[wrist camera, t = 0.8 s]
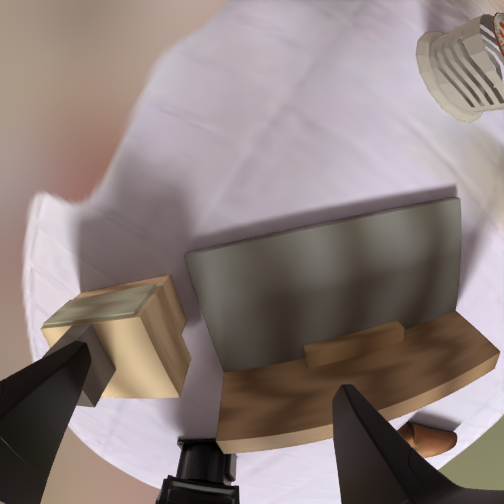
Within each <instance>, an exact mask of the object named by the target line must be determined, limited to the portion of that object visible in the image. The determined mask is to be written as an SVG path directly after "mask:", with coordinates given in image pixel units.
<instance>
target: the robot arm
mask: <svg viewBox="0 0 504 504" xmlns="http://www.w3.org/2000/svg"><path fill="white" fill-rule="evenodd" d="M91 362H92V358H91V354H90V351H89V347H88V344H87V343H86V342H84V341H81V340H75V341H73V342H71V343H69V344H67V345H66V346H64V347H62V348H60V349H58V350H56V351H54V352H53V353H51V354H49V355H47V356H45V357H43V358H42V359H40V360H38V361H36V362H34V363H33V364H31V365H29V366H27V367H25V368H24V369H22V370H20V371H18V372H16V373H15V374H12V375H11V376H9V377H7V378H6V379H3V380H2V381H0V504H40V503H41V499H42V496H43V492H44V489H45V486H46V483H47V479H48V476H49V473H50V470H51V468H52V465H53V462H54V459H55V456H56V453H57V451H58V448H59V446H60V443H61V441H62V438H63V435H64V433H65V431H66V428H67V426H68V423H69V421H70V419H71V416H72V414H73V412H74V409H75V407H76V405H77V403H78V400H79V398H80V395H81V393H82V390H83V386H84V383H85V380H86V377H87V375H88V372H89V369H90V366H91ZM332 414H333V440H334V448H335V455H336V462H337V469H338V477H339V485H340V494H341V503H342V504H504V490H481V489H470V488H464V487H461V486H458V485H456V484H455V483H453V482H452V481H451V480H449V479H448V478H447V477H445V476H444V475H443V474H442V473H440V472H439V471H438V470H437V469H435V468H434V467H433V466H432V465H431V464H429V463H428V462H427V461H426V460H425V459H424V458H423V457H422V456H421V455H420V454H419V453H418V452H417V451H416V450H415V449H414V448H413V447H411V445H410V444H409V443H408V442H407V441H406V440H405V439H404V438H403V437H402V436H401V435H400V434H399V433H398V432H397V431H396V430H395V429H394V428H393V427H392V425H391V424H390V423H389V422H388V421H387V420H386V419H385V418H384V417H383V416H382V415H381V414H380V413H379V412H378V411H377V410H376V409H375V408H374V407H373V406H372V404H371V403H370V402H369V401H368V400H367V399H366V398H365V397H364V396H363V395H362V394H361V393H360V392H359V391H358V390H357V389H356V387H355V386H354V385H352V384H342V385H341V386H340V387H339V389H338V391H337V392H336V394H335V396H334V397H333V400H332ZM177 445H178V446H179V447H180V448H181V455H180V460H179V464H178V469H177V474H176V477H173V476H171V475H168V477H167V479H164V480H163V484H162V488H161V491H160V493H159V495H158V498H157V500H156V504H240V503H239V486H236V485H234V486H231V482H234V481H235V479H236V456H235V455H234V453H231V454H224V453H223V452H222V450H221V448H220V447H219V445H218V444H217V442H216V439H209V440H178V441H177Z"/></svg>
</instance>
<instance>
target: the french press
mask: <svg viewBox="0 0 504 504" xmlns="http://www.w3.org/2000/svg"><path fill="white" fill-rule="evenodd" d="M480 24H482V25H484V26H485V27H486V28H487V29H489V30H490V31H492V32H493V33H494V35H495V38H496V39H495V38H493V37H492V36H491V35H489V34H488V33H486V32H485V31H484V30H482V29H481V28H480ZM463 32H464V34H462V33H463ZM480 33H481V34H482V35H484V36H485V37H487V38H488V39H489V40H491V41H492V42H493V43H495V44H496V45H497V46H499V49H500V51H501V52H500V51H498V50H497V49H496V48H495V47H494V46H492V45H491V44H489V43H488V42H487V41H485V40H484V39H482V38H481V35H480ZM459 36H460V37H461V38H463V40H462V41H461V40H459ZM484 45H485V46H487V47H488V48H490V49H491V50H492V51H494V52H495V53H496V54H497V56H498V57H499V59H500V60H501V62H502V63H503V65H504V13H496V14H495V16H491V15H489V14H485V15H482V16H479V17H477V18H475V19H473V20H471V21H469V22H467V23H465V24H463V25H461V26H459V27H458V28H456V29H454V30H452V31H450V32H448V33H446V34H443V33H441V32H438V31H435V32H427V33H425V34H424V35H423V36H422V37H421V38H420V39H419V40H418V43H417V50H416V58H417V62H418V67H419V71H420V75H421V76H422V78H423V80H424V82H425V84H426V86H427V88H428V90H429V92H430V94H431V95H432V96H433V97H434V99H435V100H436V101H437V102H438V104H439V105H440V106H441V107H442V109H443V110H445V111H446V112H447V113H449V114H450V115H451V116H453V117H454V118H455V119H457V120H461V121H465V122H469V123H470V122H472V121H475V120H477V119H479V118H480V117H481V115H482V113H483V112H484V111H494V110H504V84H503V82H502V73H501V68H500V65H499V64H498V62H497V60H496V59H495V57H494V56H493V55H492V54H491V53H490V52H488V51H487V50H486V49H485V46H484ZM490 59H491V60H490ZM491 61H492V62H493V64H494V65H495V67H496V71H497V72H496V71H495V69H494V67H493V64H492V62H491ZM494 85H495V87H496V88H494Z"/></svg>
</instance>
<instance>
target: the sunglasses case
mask: <svg viewBox="0 0 504 504" xmlns="http://www.w3.org/2000/svg"><path fill="white" fill-rule="evenodd" d="M397 432H398V433H399V434H400V435H401V436H402V437H403V438H404V439H405V440H406V441H407V442H408V443H409V444H410V445H411V447H413V448H414V449H415V450H416V451H417V452H418V453H419V454H420V455H421V456H422V457H423V458H428V457H432V456H436V455H439V454H442V453H444V452H447V451H449V450H450V449H452V448H453V447H454V446H455V445H456V443H457V435H456V433H455V432H451V431H442V430H438V429H434V428H430V427H426V426H422V425H419V424H415V423H408V422H407V423H406V424H405V425H403V426H402V427H401V428H400V429H399V430H397Z"/></svg>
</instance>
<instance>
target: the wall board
mask: <svg viewBox="0 0 504 504" xmlns="http://www.w3.org/2000/svg"><path fill="white" fill-rule="evenodd" d="M184 257H185V261H186V264H187V267H188V270H189V274H190V277H191V280H192V283H193V286H194V289H195V292H196V295H197V298H198V301H199V304H200V307H201V310H202V313H203V316H204V319H205V322H206V324H207V327H208V330H209V333H210V336H211V338H212V341H213V344H214V346H215V349H216V352H217V354H218V357H219V360H220V362H221V365H222V368H223V370H224V379H223V387H222V395H221V403H220V411H219V420H218V428H217V436H216V442H217V444H218V445H219V447H220V448H221V450H222V452H223V453H224V454H231V453H245V452H255V451H264V450H272V449H279V448H285V447H291V446H297V445H303V444H308V443H313V442H317V441H322V440H326V439H330V438H333V414H332V400H333V397H334V396H335V394H336V392H337V391H338V389H339V387H340V386H341V385H342V384H352V385H354V386H355V387H356V389H357V390H358V391H359V392H360V393H361V394H362V395H363V396H364V397H365V398H366V399H367V400H368V401H369V402H370V403H371V404H372V406H373V407H374V408H375V409H376V410H377V411H378V412H379V413H380V414H381V415H382V416H383V417H384V418H385V419H386V420H387V421H390V420H393V419H395V418H398V417H401V416H403V415H406V414H408V413H411V412H413V411H415V410H418V409H420V408H422V407H425V406H427V405H429V404H431V403H433V402H435V401H438V400H440V399H442V398H444V397H446V396H448V395H450V394H452V393H454V392H455V391H457V390H459V389H461V388H463V387H465V386H466V385H468V384H470V383H472V382H473V381H475V380H477V379H479V378H480V377H482V376H484V375H485V374H487V373H488V372H490V371H491V370H493V369H495V366H496V363H497V361H498V358H499V355H500V351H499V350H498V349H497V348H496V347H495V346H494V345H493V344H492V343H491V342H490V341H489V340H488V339H487V338H486V337H485V336H484V335H482V334H481V333H480V332H479V331H478V330H477V329H476V328H475V327H474V326H473V325H471V324H470V323H469V322H468V321H467V320H466V319H465V318H464V317H462V316H461V315H460V314H459V313H458V312H457V311H455V310H456V303H457V295H458V286H459V274H460V258H461V206H460V198H456V197H450V198H445V199H440V200H435V201H429V202H424V203H419V204H414V205H409V206H403V207H398V208H393V209H388V210H383V211H378V212H373V213H368V214H363V215H358V216H353V217H348V218H344V219H339V220H334V221H329V222H324V223H319V224H315V225H310V226H305V227H300V228H296V229H291V230H286V231H282V232H277V233H272V234H268V235H263V236H258V237H254V238H249V239H245V240H240V241H236V242H231V243H227V244H222V245H218V246H213V247H209V248H204V249H200V250H195V251H191V252H187V253H186V255H185V256H184Z"/></svg>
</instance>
